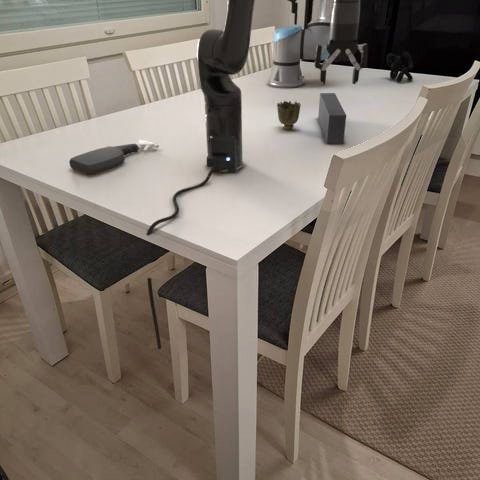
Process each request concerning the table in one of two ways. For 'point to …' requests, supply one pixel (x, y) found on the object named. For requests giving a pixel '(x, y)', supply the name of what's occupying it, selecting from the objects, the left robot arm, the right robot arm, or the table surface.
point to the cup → (288, 114)
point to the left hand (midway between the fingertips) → (338, 83)
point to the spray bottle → (106, 157)
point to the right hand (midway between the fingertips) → (315, 24)
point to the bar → (331, 118)
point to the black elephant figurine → (399, 66)
